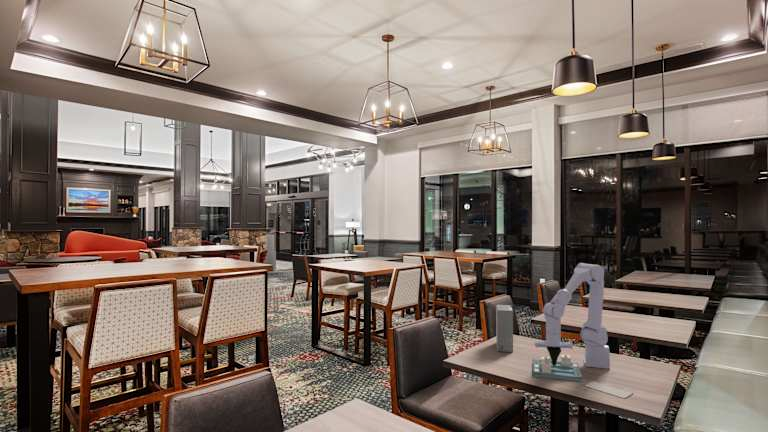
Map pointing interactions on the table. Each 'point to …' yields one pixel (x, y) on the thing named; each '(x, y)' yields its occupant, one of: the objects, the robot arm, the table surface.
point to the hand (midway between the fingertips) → (553, 364)
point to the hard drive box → (504, 328)
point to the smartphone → (608, 390)
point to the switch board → (558, 371)
